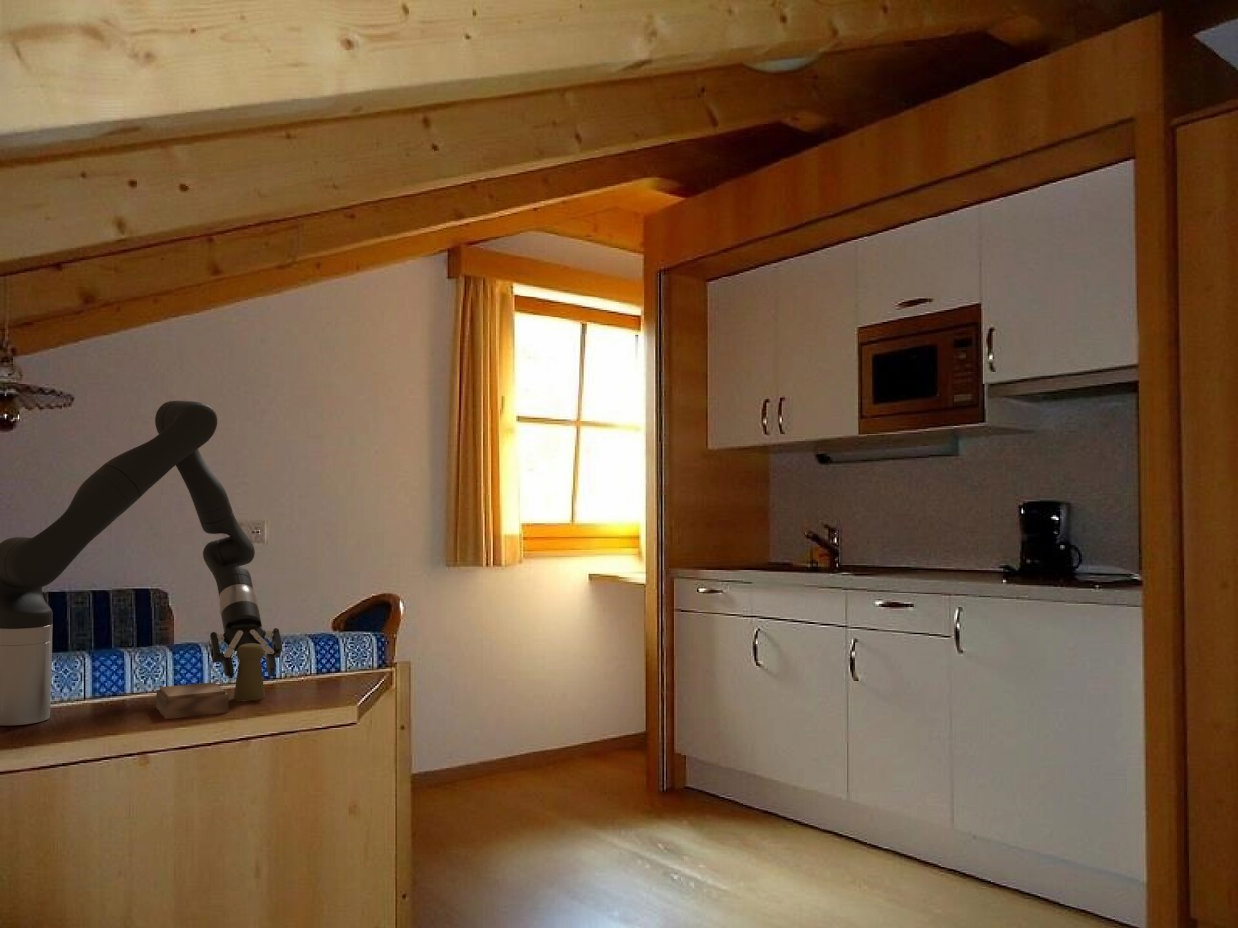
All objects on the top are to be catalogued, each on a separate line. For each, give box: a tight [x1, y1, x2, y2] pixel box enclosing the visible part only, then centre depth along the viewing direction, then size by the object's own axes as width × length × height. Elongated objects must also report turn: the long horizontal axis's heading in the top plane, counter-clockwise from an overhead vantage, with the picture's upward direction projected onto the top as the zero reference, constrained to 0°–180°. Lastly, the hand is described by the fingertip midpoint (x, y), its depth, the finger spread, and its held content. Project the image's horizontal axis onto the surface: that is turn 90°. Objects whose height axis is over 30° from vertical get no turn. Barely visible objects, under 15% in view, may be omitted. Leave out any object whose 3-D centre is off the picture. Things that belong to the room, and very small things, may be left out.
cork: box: [232, 643, 266, 702], centre depth 203 cm, size 6×6×11 cm
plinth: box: [155, 681, 230, 720], centre depth 191 cm, size 11×11×4 cm
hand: (251, 674), depth 202 cm, fingers open, 7 cm apart
